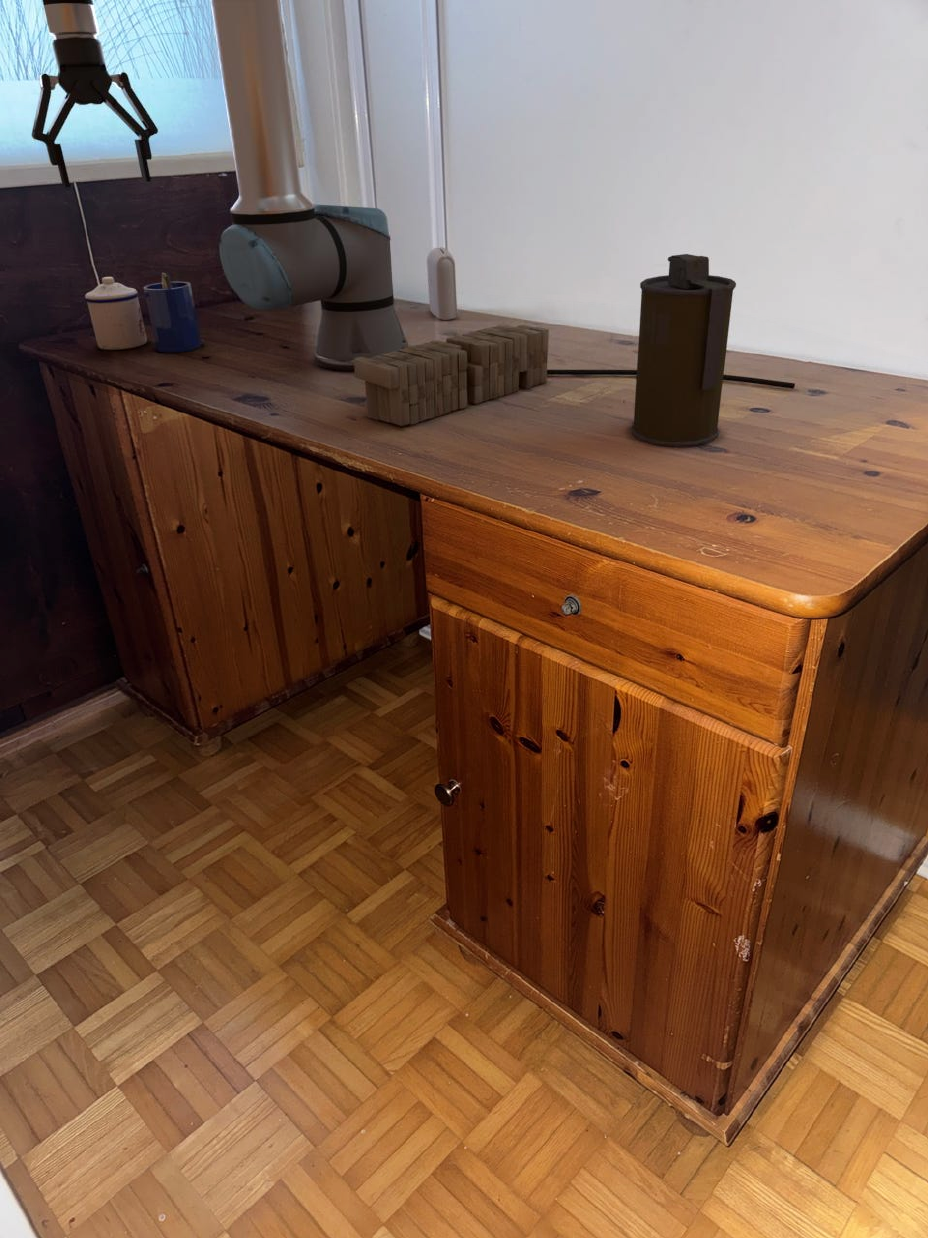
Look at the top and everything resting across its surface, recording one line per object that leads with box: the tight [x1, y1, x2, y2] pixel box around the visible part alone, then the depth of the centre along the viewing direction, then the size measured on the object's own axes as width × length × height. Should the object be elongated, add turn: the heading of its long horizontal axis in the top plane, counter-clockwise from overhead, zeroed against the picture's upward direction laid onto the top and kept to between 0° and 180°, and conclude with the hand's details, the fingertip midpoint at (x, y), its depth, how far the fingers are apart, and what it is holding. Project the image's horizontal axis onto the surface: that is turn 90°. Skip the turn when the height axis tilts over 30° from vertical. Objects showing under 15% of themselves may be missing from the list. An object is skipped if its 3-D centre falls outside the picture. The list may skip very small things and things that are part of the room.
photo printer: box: [426, 246, 458, 321], centre depth 168 cm, size 10×4×12 cm, turn 13°
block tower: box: [354, 323, 550, 427], centre depth 119 cm, size 8×8×29 cm
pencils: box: [161, 272, 172, 289], centre depth 153 cm, size 2×3×12 cm
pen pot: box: [143, 281, 202, 354], centre depth 153 cm, size 8×8×10 cm
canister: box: [630, 253, 737, 448], centre depth 101 cm, size 11×10×20 cm
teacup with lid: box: [84, 276, 148, 351], centre depth 157 cm, size 12×9×12 cm
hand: (107, 184), depth 152 cm, fingers open, 13 cm apart
